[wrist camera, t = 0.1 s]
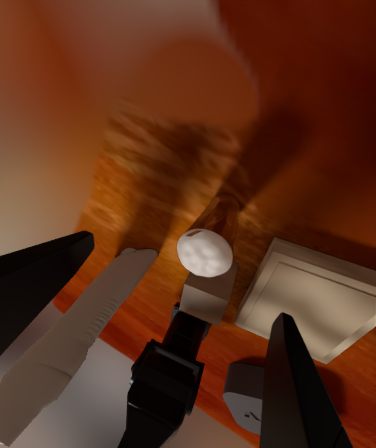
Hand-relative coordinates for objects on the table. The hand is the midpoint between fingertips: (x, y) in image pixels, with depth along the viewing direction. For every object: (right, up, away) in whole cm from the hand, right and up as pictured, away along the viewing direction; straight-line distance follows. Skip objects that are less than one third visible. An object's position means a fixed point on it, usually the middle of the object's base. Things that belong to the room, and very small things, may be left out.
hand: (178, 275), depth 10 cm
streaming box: (+16, -28, +31) cm, 44 cm away
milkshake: (+5, +5, +14) cm, 15 cm away
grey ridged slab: (-8, -3, +24) cm, 26 cm away
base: (+14, -7, +17) cm, 23 cm away
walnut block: (+4, -4, +20) cm, 20 cm away
